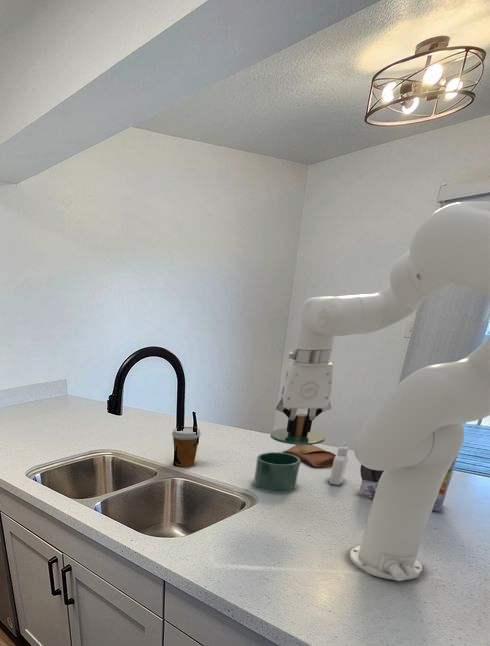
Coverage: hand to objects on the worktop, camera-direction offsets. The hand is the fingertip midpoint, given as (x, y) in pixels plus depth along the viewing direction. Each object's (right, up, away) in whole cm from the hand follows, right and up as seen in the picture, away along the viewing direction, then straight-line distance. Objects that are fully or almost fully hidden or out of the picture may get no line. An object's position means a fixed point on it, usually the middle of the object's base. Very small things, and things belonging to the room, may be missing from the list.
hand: (297, 434), depth 109 cm
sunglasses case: (+23, 0, +40) cm, 46 cm away
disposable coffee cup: (-19, -2, +42) cm, 46 cm away
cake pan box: (+30, -17, +7) cm, 35 cm away
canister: (+3, -11, +21) cm, 24 cm away
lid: (0, -1, 0) cm, 1 cm away
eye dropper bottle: (+22, -10, +21) cm, 32 cm away
